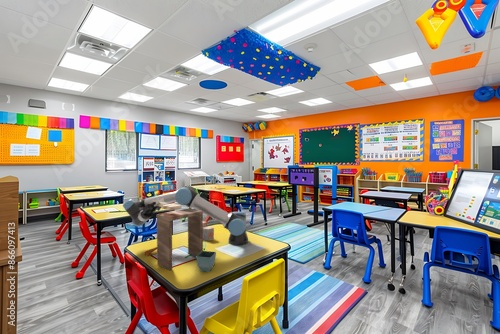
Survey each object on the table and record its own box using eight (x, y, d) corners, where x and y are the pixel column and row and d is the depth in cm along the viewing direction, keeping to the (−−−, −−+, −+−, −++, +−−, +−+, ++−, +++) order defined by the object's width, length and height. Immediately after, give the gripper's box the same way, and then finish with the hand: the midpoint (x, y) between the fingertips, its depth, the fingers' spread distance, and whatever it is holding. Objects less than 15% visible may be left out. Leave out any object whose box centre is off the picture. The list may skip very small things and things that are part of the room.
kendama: (142, 249, 156) (165, 238, 174) (144, 257, 156) (166, 245, 174) (148, 248, 154) (170, 237, 172) (150, 257, 154) (172, 245, 172)
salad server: (148, 205, 152) (148, 201, 152) (159, 203, 157) (159, 200, 157) (170, 210, 135) (170, 206, 135) (181, 208, 140) (181, 204, 140)
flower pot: (211, 273, 129) (210, 257, 129) (195, 272, 131) (195, 256, 131) (216, 267, 138) (216, 251, 137) (202, 265, 139) (202, 250, 139)
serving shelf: (190, 252, 160) (189, 207, 160) (203, 257, 151) (203, 210, 151) (156, 264, 142) (156, 214, 141) (169, 270, 133) (169, 217, 132)
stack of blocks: (214, 239, 188) (214, 223, 187) (207, 241, 183) (207, 225, 183) (198, 233, 202) (198, 219, 202) (192, 235, 198) (192, 220, 198)
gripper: (158, 217, 167) (173, 203, 153) (135, 221, 155) (150, 207, 142) (155, 207, 169) (170, 193, 156) (133, 210, 157) (147, 195, 144)
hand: (160, 199), depth 149 cm, fingers closed on salad server, 2 cm apart
